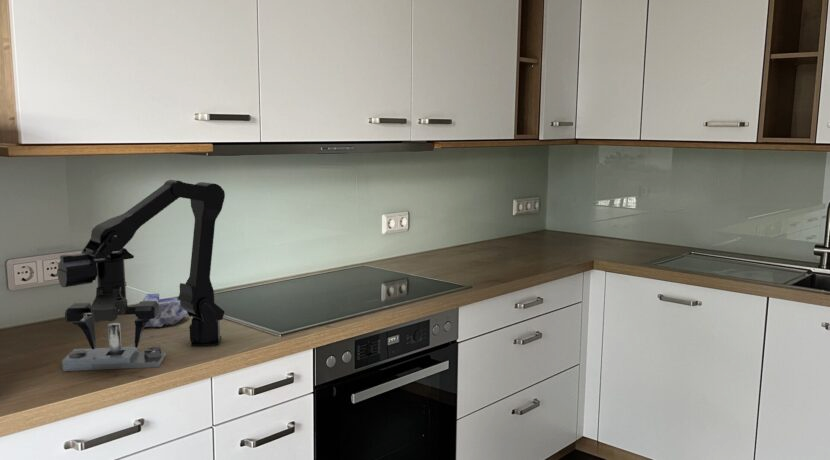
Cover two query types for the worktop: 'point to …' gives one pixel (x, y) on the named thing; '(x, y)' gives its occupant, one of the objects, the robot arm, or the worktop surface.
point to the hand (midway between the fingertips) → (115, 348)
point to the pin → (114, 339)
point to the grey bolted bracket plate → (112, 359)
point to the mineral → (166, 311)
